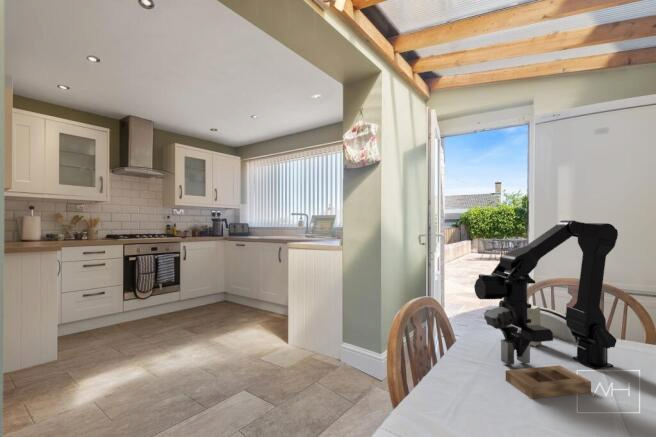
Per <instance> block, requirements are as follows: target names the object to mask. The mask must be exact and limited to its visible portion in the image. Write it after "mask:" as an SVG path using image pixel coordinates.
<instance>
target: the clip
mask: <svg viewBox="0 0 656 437" xmlns="http://www.w3.org/2000/svg"><path fill="white" fill-rule="evenodd" d="M515 351H516V340H515V339H505V338H503V339H500V361H501V362H503V363H504V364H506V365H507V366H511V365H515ZM516 360H517V361H519V362H520V363H522V364H530V363H531V345H530V344H529V345H528V347H527V348H526V350H525V352H524V353H523V355H522V356H521V357H518V356H517V355H516Z"/></svg>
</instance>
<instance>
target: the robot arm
mask: <svg viewBox="0 0 656 437" xmlns="http://www.w3.org/2000/svg"><path fill="white" fill-rule="evenodd" d="M618 236H619V231H618V229H617V228H615V226H614V225H613V224H611V223H606V222H605V223H604V222H603V223H601V222H600V223H599V222H597V223H595V222H594V223H593V222H588V223H587V222H582V221H576V220H567V219H566V220H565V219H564V220H561V221H558V222H556V224H555V225H554V226H553V227H551V228H549V229H548V230H547V231H546V232H544V233H542V234H541V235H539V236H538V237H536V238H535V239H534V240H532V241H531V242H530V243H528V244H527V245H525V246H522V247H520V248H516V249H513V250H509V251H508V252H506V253H504V254H502V256H500V258H499V262H498V264H497V265H496V267H495V268H494V269H493V271H492V272H491V273H490V274H482V273H480V274H478V278H477V279H476V280H475V283H474V284H473V285H474V293H475V296H476V297H477V299H479V300H499V303H498V306H497V307H494V308H491V309H486V310H485V312H483V316H484V320H485V321H486V324H487V325H488V326H491V327H493V329H496V330H500V332H502V334H503V337H504V339H515V340H516V350H515V351H516V352H515V353H516V357H517V356H518V357H521V356H522V355H523V353H524V352H525V350H526V348H527V347H528V345H529V344H530V342H531V341H532V342H541V343H542V342H543V343H544V342H553V341H554V336H553V332H552V331H551V330H550V329H548V328H545V327H543V326H540V325H527V323H531V319H529V318H527V308H531V305H532V303H529V302H528V284H530V285H531V284H536V280H534V279H533V278H532V277H531V276H530V273H531V272H532V271H533V270H534V269H535V268H536V267H537V266H538V263H539V261H540V260H541V259H542V258H543V257H544V256H546V255H547V254H549V253H550V252H552V251H553V250H554V249H556V248H557V247H559V246H560V245H562V244H564V243H565V242H566V241H567V240H569V239H570V238H572V237H574V238H577V243H578V246H579V248H580V250H581V252H582V258H581V265H580V266H581V267H580V275H579V281H578V282H579V283H578V290H577V291H578V292H577V293H578V294H577V299H576V302H575V303H574V305H573V306H572V307H571V306H567V307H566V310H565V311H566V312H565V313H566V314H565V315H566V317H565V319H564V320H566V324H567V326H568V327H569V329H570V330H571V333H572V335H573V336H575V337H578V338H579V339H577V346H576V356H572V360H575V361H577V362H579V363H581V364H583V365H585V366H588V367H590V368H592V369H594V370H599V369H609V368H614V364H612V363H609V362H608V354H609V353H608V352H609V351H608V349H611V348H615V346H616V343H617V339H616V337H615V336H613V334H611V333H610V331H609V330H608V329H607V323H606V322H607V321H606V317H605V315H604V313H603V311H602V308H601V301H602V292H603V285H604V284H603V283H604V274H605V269H606V267H605V266H606V258H607V255H609V254H610V252H612V250H614V248H615V246H616V244H617V240H618Z"/></svg>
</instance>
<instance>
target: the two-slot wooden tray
mask: <svg viewBox="0 0 656 437" xmlns="http://www.w3.org/2000/svg"><path fill="white" fill-rule="evenodd" d="M505 381H506V382H507V383H509V384H510V385H511V386H512V387H514V388H515V389H517V390H518V391H520V392H521V393H523V394H524V395H526V396H527V397H529V398H530V399H531V400H532V399H533V400H534V399H541V398H549V397H558V396H559V397H560V396H567V395H568V396H569V395H576V394H585V393H586V394H587V393H591V392H592V381H591V380H590V379H588V378H586V377H583V376H582V375H580V374H577V373H575V371H572V370H570V369H568V368H566V367H564V366H562V365H560V364H559V365H550V366H538V367H529V368H517V369H507V370H506V369H505Z"/></svg>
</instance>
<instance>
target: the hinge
mask: <svg viewBox="0 0 656 437" xmlns="http://www.w3.org/2000/svg"><path fill="white" fill-rule="evenodd" d="M539 307H540V319H541V326H543V327H545V328H548V329H550V330H551V331H552V332H553V337H556V338H559V339H562V340H565V341H568V342H571V343H576V342H577V340H578V339H579V338H578V337H575V336H573V335H572V333H571V330H570V329H569V327H568V326H567V324H566V320H564V319H565V317H566V314H564V313H562V312H559V311H558V310H554V309H550V308H548V307H543V306H539Z"/></svg>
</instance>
